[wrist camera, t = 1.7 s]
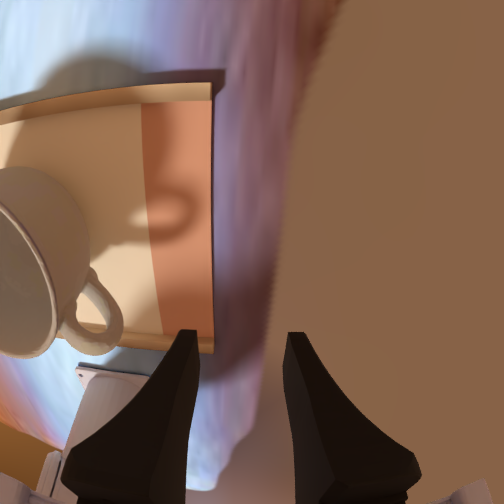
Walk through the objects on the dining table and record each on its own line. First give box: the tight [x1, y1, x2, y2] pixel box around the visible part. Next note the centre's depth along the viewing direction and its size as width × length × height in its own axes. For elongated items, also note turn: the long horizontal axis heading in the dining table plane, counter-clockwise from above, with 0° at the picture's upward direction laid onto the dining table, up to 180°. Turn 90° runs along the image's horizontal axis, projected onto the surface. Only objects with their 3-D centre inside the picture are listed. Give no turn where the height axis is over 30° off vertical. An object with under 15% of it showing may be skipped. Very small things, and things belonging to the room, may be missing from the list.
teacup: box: [0, 166, 124, 359], centre depth 16 cm, size 14×11×8 cm
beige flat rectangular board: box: [0, 83, 215, 354], centre depth 19 cm, size 19×33×1 cm, turn 88°
